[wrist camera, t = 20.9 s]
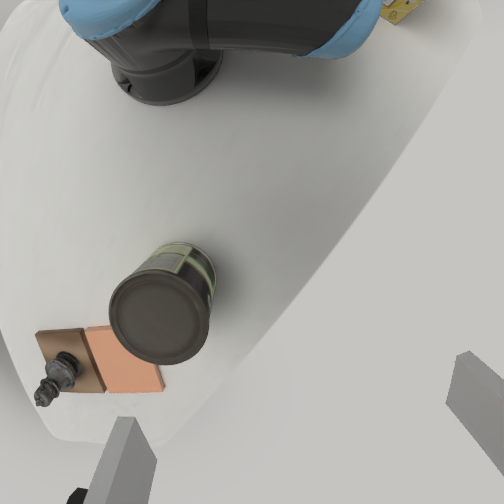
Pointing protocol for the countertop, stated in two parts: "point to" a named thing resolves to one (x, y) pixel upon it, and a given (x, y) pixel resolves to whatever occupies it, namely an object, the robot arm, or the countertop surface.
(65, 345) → the shorter pad
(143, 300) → the coffee can
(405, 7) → the pasta box
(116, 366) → the taller pad
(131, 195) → the countertop surface
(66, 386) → the dark chess piece
